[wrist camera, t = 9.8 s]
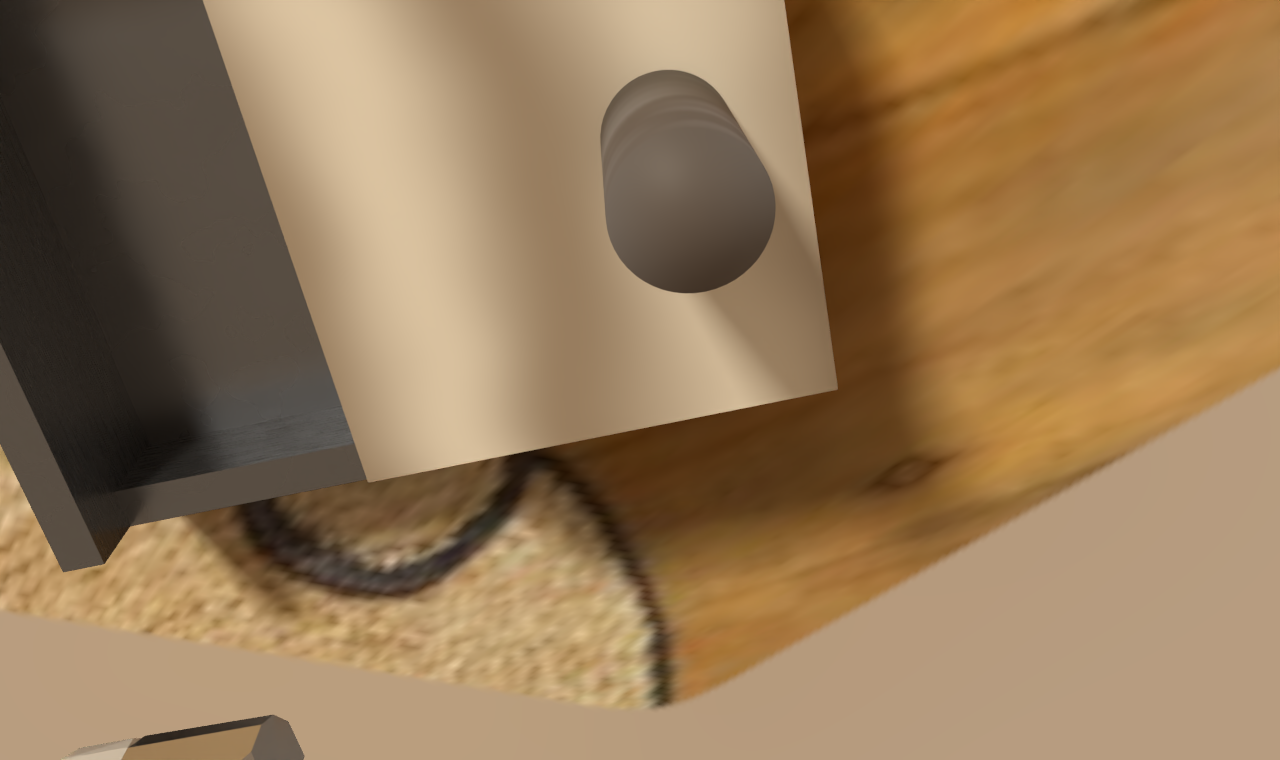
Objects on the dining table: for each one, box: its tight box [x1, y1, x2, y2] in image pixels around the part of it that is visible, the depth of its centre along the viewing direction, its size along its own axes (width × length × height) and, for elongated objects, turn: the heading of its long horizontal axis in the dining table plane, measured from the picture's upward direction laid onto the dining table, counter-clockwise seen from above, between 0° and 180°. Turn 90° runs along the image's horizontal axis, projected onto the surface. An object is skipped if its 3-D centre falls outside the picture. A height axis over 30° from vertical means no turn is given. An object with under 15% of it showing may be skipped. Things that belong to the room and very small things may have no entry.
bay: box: [0, 0, 367, 572], centre depth 31 cm, size 22×18×6 cm
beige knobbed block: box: [203, 0, 838, 483], centre depth 26 cm, size 12×14×13 cm
